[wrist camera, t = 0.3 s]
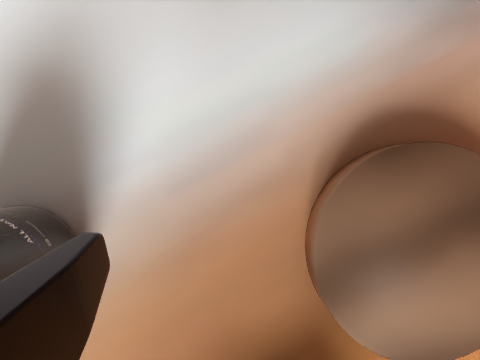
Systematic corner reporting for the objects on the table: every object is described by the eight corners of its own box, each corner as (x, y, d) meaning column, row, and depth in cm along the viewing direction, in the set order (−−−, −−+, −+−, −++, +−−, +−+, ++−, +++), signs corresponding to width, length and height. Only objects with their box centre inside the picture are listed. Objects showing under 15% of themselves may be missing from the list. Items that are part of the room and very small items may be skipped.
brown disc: (531, 295, 23) (568, 311, 20) (350, 372, 22) (365, 398, 20) (459, 113, 22) (488, 106, 19) (274, 192, 22) (279, 195, 19)
